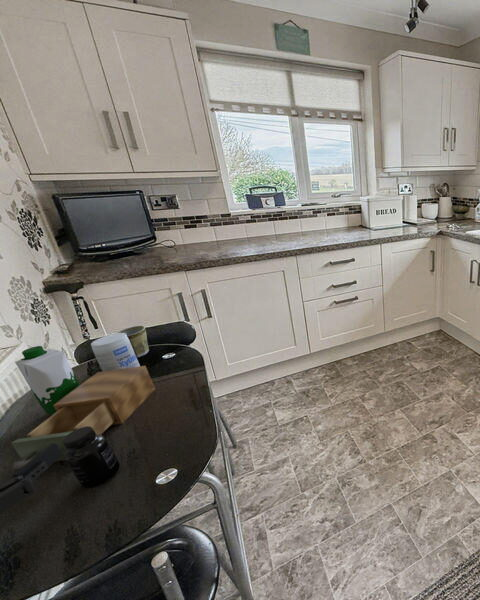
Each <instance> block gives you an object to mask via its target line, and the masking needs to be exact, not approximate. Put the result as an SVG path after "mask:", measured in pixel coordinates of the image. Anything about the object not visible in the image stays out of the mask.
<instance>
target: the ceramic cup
mask: <svg viewBox="0 0 480 600" xmlns="http://www.w3.org/2000/svg"><path fill="white" fill-rule="evenodd" d="M116 333H125V334H126V335H127V337H128V339H129V341H130V343H131V346H132V348H133V350H134V353H135V355H136V358H137V359H138V358H140V357H143V356H145V355H147V354H148V353H149V351H150V347H149V343H148V342H149V341H148V338H147V337H148V336H147V330H146V327H145V326H144V325H136V326H135V325H133V326H130V327H127V328H123V329H121V330H118V331H117V332H115V333H114V334H116Z"/></svg>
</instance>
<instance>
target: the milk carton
mask: <svg viewBox="0 0 480 600" xmlns="http://www.w3.org/2000/svg"><path fill="white" fill-rule="evenodd" d="M21 355H22V356H23V358H20V359H19V360H15V361H14V363H15V365H16V366H17V368H18V370H19V372H20V373H21V375H22V376H23V378H24V380H25V382H26V384H27V385H28V387H29V389H30V390H31V392H32V394H33V395H34V397H35V399H36V401H37V403H39V405H40V406H41V408H42V409H43V410H44V412H45V413H46V414H48V415H50V416H52V415H53V414H54V413H56V412H57V411H56V410H55V408H54V406H53V405H54V404H56V403H57V402H58V401H60V400H61V399H62V398H64V397H65V396H66V395H68V394H69V393H70V392H72V391H73V390H74V389H76V388H77V387H78V386H80V385H81V384H80V382H79V380H78V378H77V376H76V374H75V373H74V371H73V368H72V367H71V365H70V363H69V361H68V359H67V355H66V353H65V351H64V350H60V349H54V348H47V349H45V348H44V347H43V346H42V345H37V346H33V347H32V346H31V347H29V348H26V349H24V350H22V352H21Z"/></svg>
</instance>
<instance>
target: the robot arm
mask: <svg viewBox="0 0 480 600" xmlns="http://www.w3.org/2000/svg"><path fill="white" fill-rule="evenodd" d="M62 455H63V454H62V453H61V451H60V449H59V448H58V446H57V444H56V443H53V444H50V445H49V446H48V447H47V448H46V449H44V450H43V451H42V452H41V453H39V454H38V455H37V456H36V457H34V458H33V459H32V460H31V461H29V462H28V463H27V464H26V465H24V466H23V467H22V468H21V469H17V471H16V472H14V473H13V474H12V477H13V478H11V479H9V480H7V481H4V482H3V483H1V484H0V515H2V514H3V513H5V512H7V511H8V510H10V509H12V508H13V507H15V506H16V505H17V504H19V503H21V502H22V501H24V500H25V499H27V498H29V497H30V496H32V495H33V494H35V493H36V492H37V491H38V488H37V486H36V485H35V484H34V481H35V480H36V479H38V478H39V477H40V476H41V475H42V474H44V473H45V472H46V471H48V469H49V468H50V467H51V466H52V465H53V464H54V463H55V462H57V461H56V460H57V459H59V458H60V457H61V456H62Z"/></svg>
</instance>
